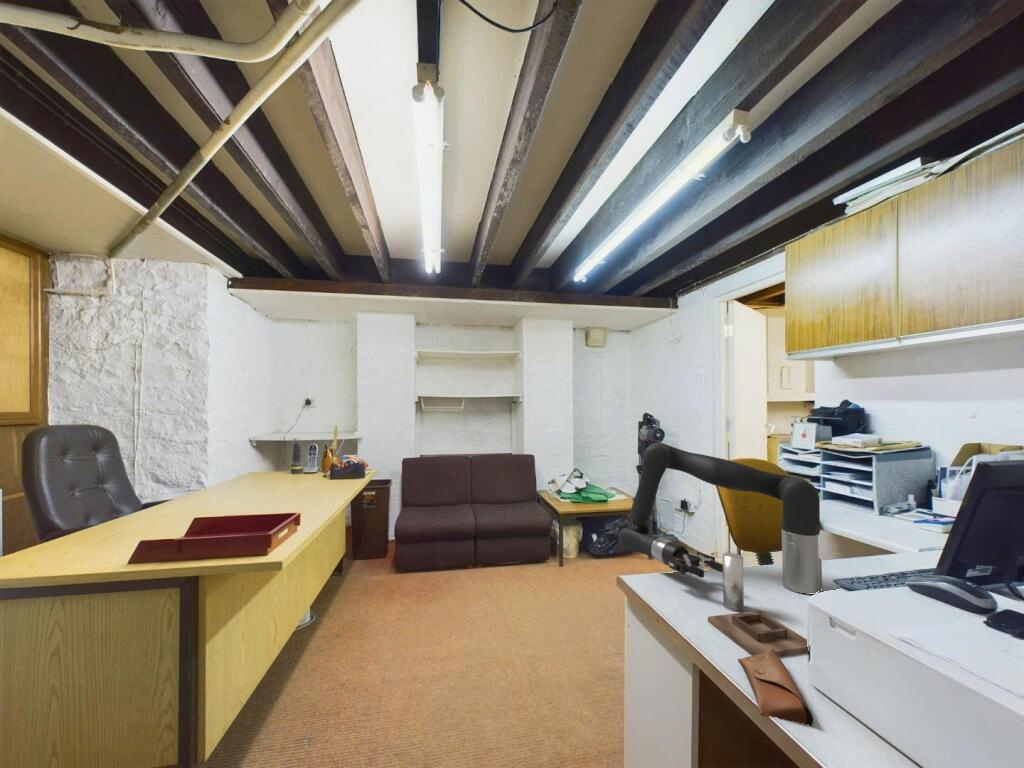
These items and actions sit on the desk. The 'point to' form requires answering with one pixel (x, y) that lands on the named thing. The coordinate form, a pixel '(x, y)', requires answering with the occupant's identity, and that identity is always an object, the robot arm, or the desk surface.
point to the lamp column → (733, 582)
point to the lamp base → (759, 633)
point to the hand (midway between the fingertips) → (713, 571)
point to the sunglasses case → (775, 688)
